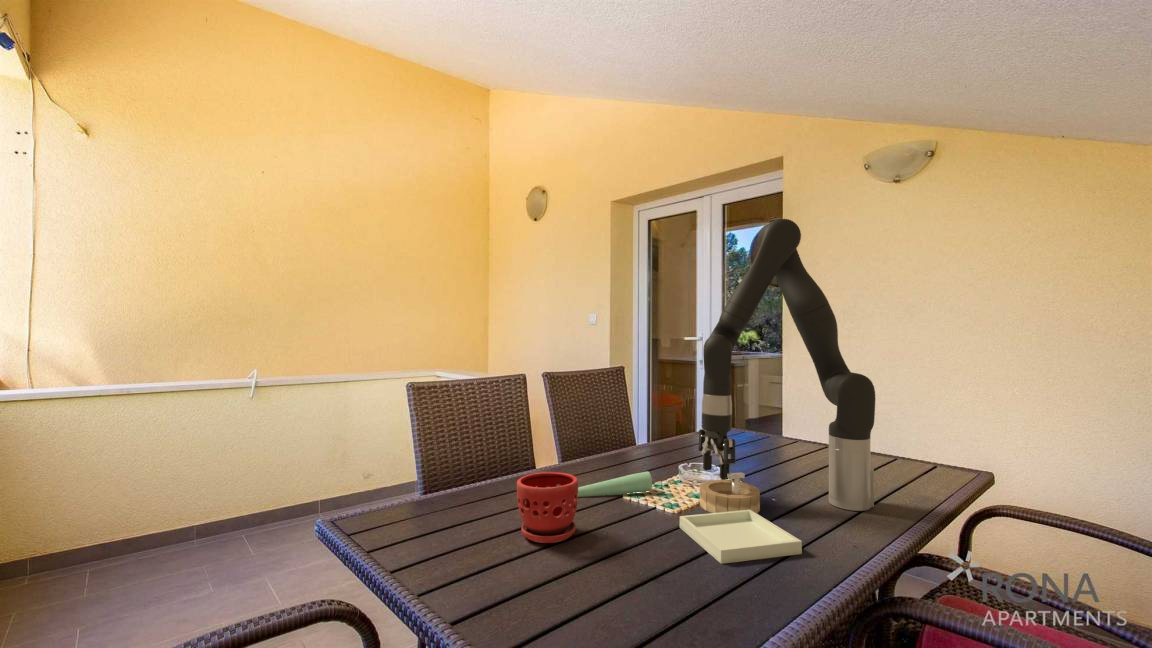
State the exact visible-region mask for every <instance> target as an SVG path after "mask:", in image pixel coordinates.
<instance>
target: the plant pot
mask: <svg viewBox="0 0 1152 648" xmlns="http://www.w3.org/2000/svg"><path fill="white" fill-rule="evenodd" d="M557 485H558V486H557ZM578 487H579V480H578V478H577V477H576V476H575V475H573V474H570V473H564V472H551V471H550V472H548V471H547V472H537V473H532V474H527V475H524V476H521V477H520V478H519V479H517V481H516V499H517V500H516V501H517V506H518V512H519V514H520V518H521V520H522V525H521V530H520V531H521V534H522V535H523V536H524V537H525V538H526V539H527V540H529V541H532V542H535V543H540V544H553V543H559V542H562V541H567V539H569V538H570V537H572V535H573V534H574V533H575V531H576V530H577V524H576V523H575V522H574V519H575V517H576V513H577V508H578V497H577V496H578Z"/></svg>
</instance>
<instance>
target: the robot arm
mask: <svg viewBox="0 0 1152 648" xmlns="http://www.w3.org/2000/svg"><path fill="white" fill-rule="evenodd" d="M801 239H802V232H801V228H800V227H799V225H798V224H797V223H796V222H795V221H793V220H791V219H789V218H788V219H787V218H779V219H778V218H777V219H775V220H773V221H770V222H769V223H767V224H765V225H764V226H763V227H762V228H761V229H760V231H759V232H758V234H757V239H756V240H757V247H758V251H757V254H756V255H755V258H754V260H753V262H752V264H751V266H750V267H749V269H748V270H747V272H746V274H745V275H744V277H743V278H742V279H741V281H740V282H739V284H738V285H737V286H736V288H735V289H734V291H733V292H732V293H731V296H730V297H729V298H728V301H727V302H726V305H725V306H724V308H723V310H722V312H721V314H720V316H719V319H718V322H717V324H716V325H715V327H714V328H713V330H712V332H711V334H710V335H709V337H708V338H707V339H706V340H705V341H704V344H703V348H702V349H703V370H704V375H703V383H702V384H703V386H702V387H703V388H702V389H703V391H702V393H703V394H702V402H701V429H700V428H699V430H698V449H697V450H698V451H699V452H701V455H702V469H703V470H705V471H711V470H712V467H713V463H712V462H713V452H714V453H715V456H716V457H717V458H718V460H719V462H720V464H719V479H720V480H730V479H729V478H727V473H730V466H731V465H732V464H736V440H735V439H734V438H728V432H731V431H732V419H733V401H732V375H731V369H732V354H733V351H734V348H735V347H736V344H737V343H738V341H739V339H740V336H741V334H742V333H743V331H744V330H745V329H746V327H747V326H748V324H749V323H750V321H751V319H752V317H753V315H754V314H755V312H756V310H757V308H758V306H759V304H760V302H761V301H762V299H763V297H764V295H765V293H767V292H766V291H767V290H768V288H769V286H770V284H771V283H772V281H773V280H774V279H775V278H776V280H777V283H778V286H779V288H780V291H781V294H782V297H783V299H784V302H785V303H786V306H787V308H788V312H789V313H790V316H791V319H792V320H793V323H794V325H795V326H796V329H797V331H798V333H799V334H800V337H801V339H802V341H803V343H804V346H805V347H806V349H807V353H809V356H810V357H811V360H812V362H813V364H814V367H815V370H816V374H817V377H818V380H819V383H820V386H821V389H822V392H823V395H824V397H826V399H827V400H828V401H829V402H830V403H831V404H832V405H834V406H836V416H835V419H834V420H833V421H831V422H830V423H829V424H828V503H829V504H830V505H832V506H834V507H836V508H839V509H843V510H846V511H856V512H857V511H858V512H864V511H865V512H866V511H868V510H870V509H872V508H875V506H874V505H875V470H874V468H873V467H871V462H872V461H871V459H872V458H871V451H872V450H871V433H872V430H873V428H874V426H875V425H874V424H875V415H876V391H875V386H874V382H872V380H871V379H870V378H869V377H868V376H866V375H864V374H862V373H858V372H851V370H850V369H849V367H848V366H847V363H846V362H845V360H844V358H843V356H842V353H841V350H840V346H839V331H838V323H837V318H836V316H835V314H834V310H833V309H832V307H831V305H830V302H829V300H828V299H827V296H826V295H825V293H824V292H823V290H822V289H821V287H820V286H819V285H818V284H817V282H816V281H815V280H814V279H813V277H812V276H811V275H810V274H809V272H808V271H807V269H806V268H805V266H804V264H803V261H802V259H801V257H800V254H799V251H798V249H797V248H798V247H799V245H800V243H801V241H802V240H801Z"/></svg>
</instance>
